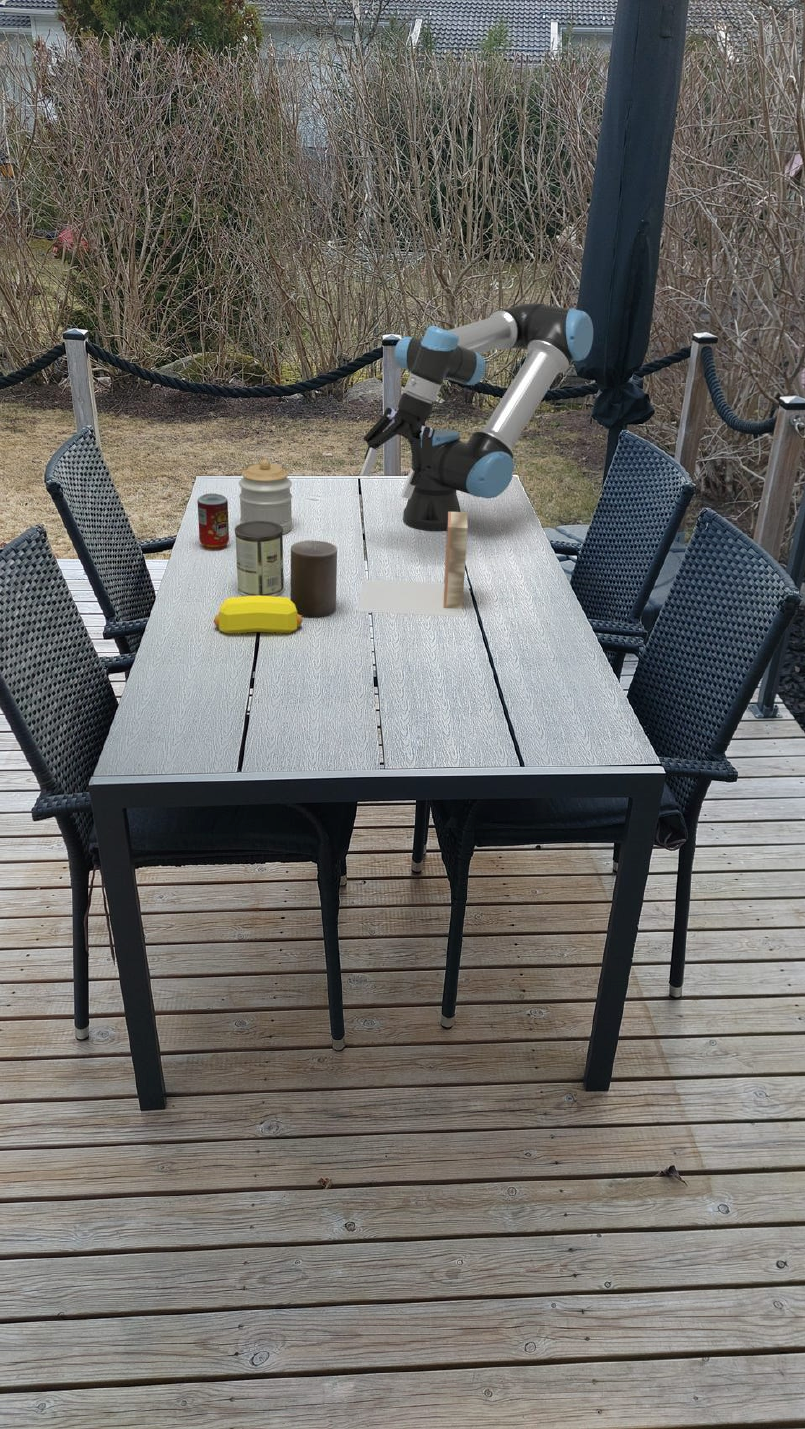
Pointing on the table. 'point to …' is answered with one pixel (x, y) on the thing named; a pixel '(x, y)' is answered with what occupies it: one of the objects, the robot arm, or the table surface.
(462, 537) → the birch board
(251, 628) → the hot dog
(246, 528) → the coffee can
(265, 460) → the jar
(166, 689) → the table surface
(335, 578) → the pillar candle
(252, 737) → the table surface
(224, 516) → the soda can
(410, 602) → the rubber mat
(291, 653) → the table surface
